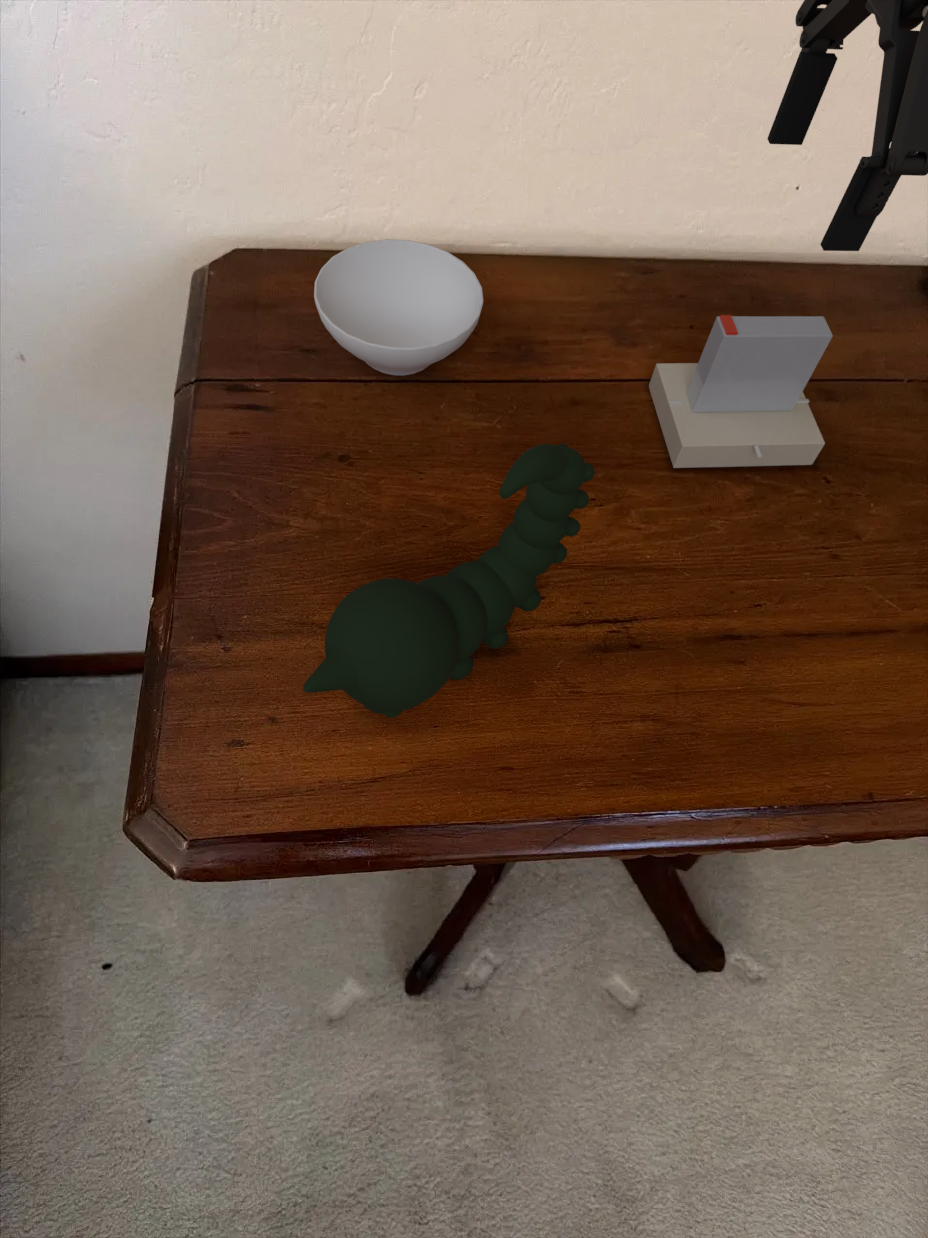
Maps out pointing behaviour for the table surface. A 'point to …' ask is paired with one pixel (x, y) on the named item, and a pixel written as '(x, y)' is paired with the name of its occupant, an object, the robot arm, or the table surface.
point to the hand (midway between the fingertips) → (810, 192)
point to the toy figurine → (453, 597)
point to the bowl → (398, 303)
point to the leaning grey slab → (757, 362)
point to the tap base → (729, 428)
